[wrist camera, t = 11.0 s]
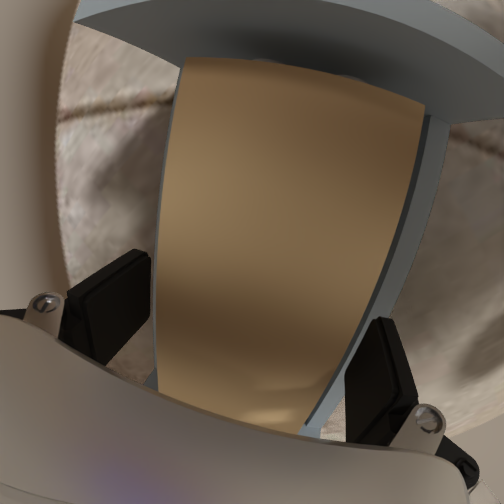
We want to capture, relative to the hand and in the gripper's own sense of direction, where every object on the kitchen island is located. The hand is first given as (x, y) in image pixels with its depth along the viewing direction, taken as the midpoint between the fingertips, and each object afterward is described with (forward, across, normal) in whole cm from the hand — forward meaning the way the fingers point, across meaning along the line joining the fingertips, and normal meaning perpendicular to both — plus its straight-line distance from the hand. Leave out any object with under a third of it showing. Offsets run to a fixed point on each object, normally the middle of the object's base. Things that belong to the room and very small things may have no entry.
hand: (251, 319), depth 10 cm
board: (+1, 0, 0) cm, 1 cm away
